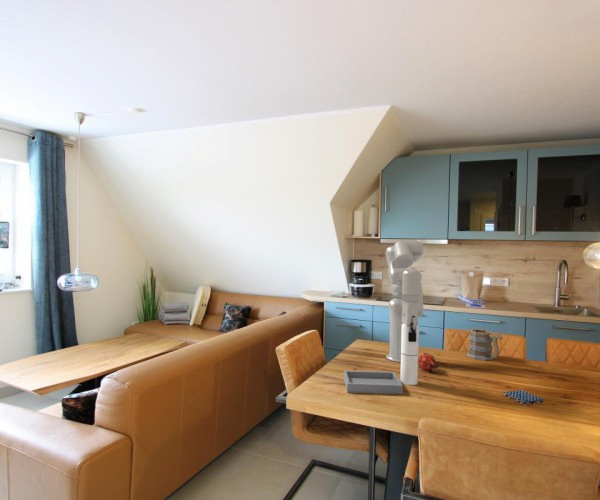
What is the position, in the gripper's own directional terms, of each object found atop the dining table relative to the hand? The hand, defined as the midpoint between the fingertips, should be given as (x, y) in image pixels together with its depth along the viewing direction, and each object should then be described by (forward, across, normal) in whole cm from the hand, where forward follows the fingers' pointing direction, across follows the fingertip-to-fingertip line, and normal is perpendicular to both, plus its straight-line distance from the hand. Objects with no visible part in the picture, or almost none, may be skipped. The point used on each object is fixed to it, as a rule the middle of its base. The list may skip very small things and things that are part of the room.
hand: (409, 339), depth 167 cm
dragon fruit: (+19, -17, +13) cm, 29 cm away
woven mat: (+20, +15, +41) cm, 48 cm away
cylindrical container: (+19, 0, 0) cm, 19 cm away
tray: (+19, +6, -17) cm, 26 cm away
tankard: (+19, -39, +50) cm, 66 cm away
